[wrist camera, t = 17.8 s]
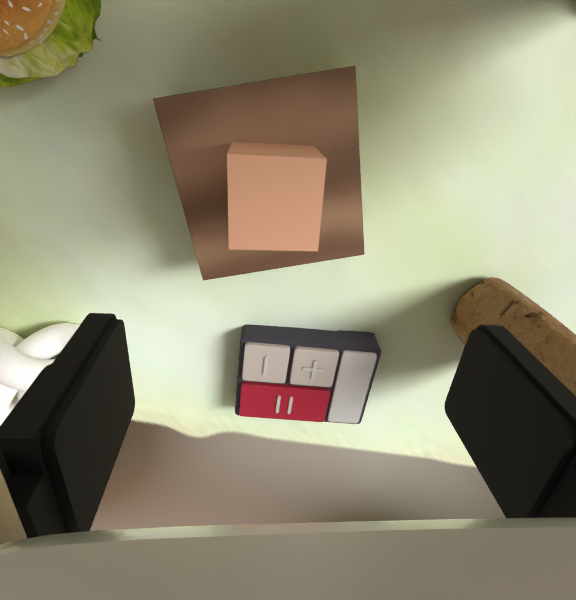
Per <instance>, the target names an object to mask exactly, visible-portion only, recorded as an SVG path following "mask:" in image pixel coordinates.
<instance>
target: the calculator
mask: <svg viewBox="0 0 576 600" xmlns="http://www.w3.org/2000/svg"><path fill="white" fill-rule="evenodd" d="M380 354H381V350H380V348H379V345H378V342H377V340H376V337H375V335H374V333H370V332H355V331H325V330H314V329H304V328H292V327H277V326H261V325H244V326H243V328H242V335H241V342H240V355H239V367H238V380H237V393H236V405H235V413H236V414H237V415H240V416H246V417H259V418H273V419H286V420H300V421H313V422H336V423H349V424H359V423H361V420H362V417H363V413H364V410H365V407H366V403H367V400H368V396H369V393H370V389H371V386H372V382H373V379H374V375H375V372H376V368H377V365H378V361H379V358H380Z"/></svg>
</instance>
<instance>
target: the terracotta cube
mask: <svg viewBox="0 0 576 600" xmlns="http://www.w3.org/2000/svg"><path fill="white" fill-rule="evenodd" d="M326 164H327V158H326V157H325V156H324V155H323V154H322V153H321V152H320V151H319V150H318V149H317V148H316V147H314V146H309V145H289V144H268V143H248V142H232V143H231V145H230V148H229V150H228V153H227V180H228V233H229V249H233V250H277V251H318V246H319V236H320V226H321V215H322V205H323V195H324V184H325V174H326Z"/></svg>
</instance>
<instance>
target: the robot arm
mask: <svg viewBox="0 0 576 600" xmlns="http://www.w3.org/2000/svg"><path fill="white" fill-rule="evenodd" d="M134 408H135V397H134V390H133V383H132V376H131V369H130V362H129V355H128V348H127V341H126V334H125V327H124V322H123V320H117V318H116V316H115V315H114V314H104V313H89V314H88V315H87V316H86V318H85V319H84V320H83V322H82V323H81V325H80V326H79V327H78V329H77V330H76V331H75V333H74V334H73V336H72V337H71V338H70V340H69V341H68V342H67V344H66V345H65V347H64V348H63V349H62V351H61V352H60V353H59V355H58V356H57V357H56V359H55V360H54V362H53V363H52V364H50V365H47V366H46V367H45V368H44V369H43V370H42V371H41V372H40V373H39V375H38V376H37V377H36V379H35V380H34V381H33V383H32V384H31V385H30V387H29V388H28V389H27V391H26V392H25V393H24V395H23V396H22V397H21V399H20V400H19V401H18V403H17V404H16V405H15V407H14V408H13V410H12V411H11V412H10V414H9V415H8V416H7V418H6V419H5V420H4V422H3V423H2V424H1V426H0V600H576V396H575V395H574V394H573V393H572V392H571V391H570V390H569V389H568V388H567V387H566V386H565V385H564V384H563V383H562V382H561V381H560V380H559V379H558V378H557V377H555V376H554V375H553V374H552V373H551V372H550V371H549V370H548V369H547V368H546V367H545V366H544V365H543V364H542V363H541V362H540V361H539V360H538V359H537V358H536V357H535V356H534V355H533V354H532V353H531V352H530V351H529V350H528V349H527V348H526V347H525V346H524V345H523V344H522V343H521V342H519V341H518V340H517V339H516V338H515V337H514V336H513V335H512V334H511V333H510V332H509V331H508V330H507V329H506V328H505V327H504V326H502V325H479V326H478V327H477V328H476V329H474V330H472V331H471V332H470V334H469V337H468V339H467V342H466V345H465V348H464V351H463V353H462V356H461V359H460V362H459V365H458V367H457V370H456V373H455V376H454V378H453V381H452V384H451V387H450V390H449V392H448V395H447V398H446V401H445V412H446V414H447V416H448V418H449V420H450V422H451V423H452V425H453V427H454V429H455V430H456V432H457V434H458V435H459V437H460V439H461V441H462V442H463V444H464V446H465V448H466V449H467V451H468V453H469V454H470V456H471V458H472V460H473V461H474V463H475V465H476V467H477V468H478V470H479V472H480V473H481V475H482V477H483V479H484V480H485V482H486V484H487V485H488V487H489V489H490V491H491V492H492V494H493V496H494V498H495V499H496V501H497V503H498V504H499V506H500V508H501V509H502V511H503V513H504V515H505V517H506V519H505V518H504V519H452V520H451V519H449V520H406V521H405V520H404V521H364V522H363V521H362V522H324V523H323V522H322V523H289V524H288V523H286V524H253V525H223V526H221V525H219V526H185V527H161V528H141V529H120V530H97V531H90V528H91V526H92V523H93V520H94V518H95V515H96V512H97V510H98V507H99V504H100V502H101V499H102V496H103V493H104V491H105V488H106V485H107V483H108V480H109V477H110V475H111V472H112V469H113V467H114V464H115V461H116V459H117V456H118V453H119V451H120V448H121V445H122V442H123V440H124V437H125V434H126V432H127V429H128V426H129V424H130V421H131V418H132V416H133V413H134Z"/></svg>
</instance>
